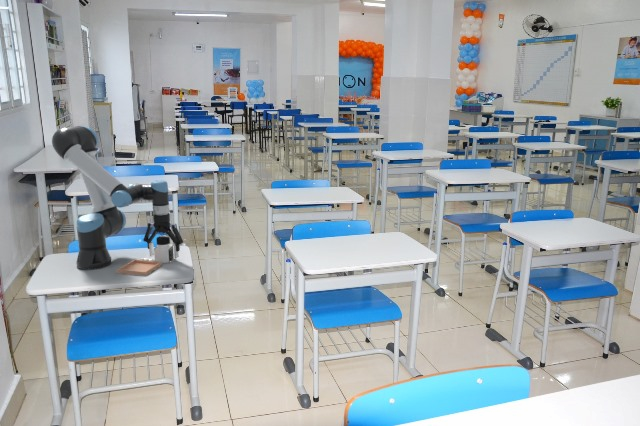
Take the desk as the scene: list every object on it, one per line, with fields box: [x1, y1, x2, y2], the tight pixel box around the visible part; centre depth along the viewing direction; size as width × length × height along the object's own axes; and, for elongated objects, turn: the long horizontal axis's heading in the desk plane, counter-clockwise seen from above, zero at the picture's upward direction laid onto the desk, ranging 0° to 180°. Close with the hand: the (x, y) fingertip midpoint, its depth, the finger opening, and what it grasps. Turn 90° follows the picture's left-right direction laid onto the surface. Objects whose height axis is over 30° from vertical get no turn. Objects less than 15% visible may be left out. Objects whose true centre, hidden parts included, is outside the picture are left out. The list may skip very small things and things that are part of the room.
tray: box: [116, 259, 163, 276], centre depth 241 cm, size 14×14×2 cm
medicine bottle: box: [153, 235, 175, 264], centre depth 252 cm, size 7×7×12 cm
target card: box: [138, 257, 154, 261], centre depth 252 cm, size 6×5×1 cm
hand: (164, 256), depth 253 cm, fingers open, 12 cm apart
